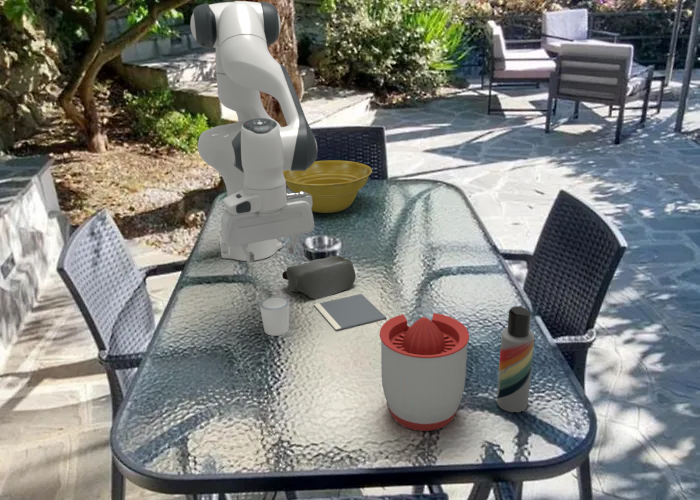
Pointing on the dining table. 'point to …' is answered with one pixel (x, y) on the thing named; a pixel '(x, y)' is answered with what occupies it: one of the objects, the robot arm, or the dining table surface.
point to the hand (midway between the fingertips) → (271, 256)
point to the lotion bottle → (515, 361)
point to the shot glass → (275, 315)
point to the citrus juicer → (423, 370)
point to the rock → (321, 276)
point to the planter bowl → (329, 183)
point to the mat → (349, 312)
